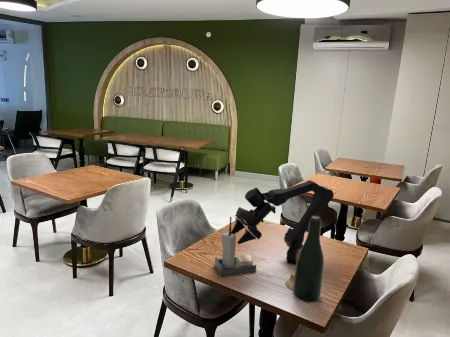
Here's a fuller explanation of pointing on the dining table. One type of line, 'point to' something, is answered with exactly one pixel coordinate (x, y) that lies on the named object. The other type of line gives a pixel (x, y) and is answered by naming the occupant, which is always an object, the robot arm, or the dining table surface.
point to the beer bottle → (310, 265)
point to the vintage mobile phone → (228, 249)
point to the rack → (233, 270)
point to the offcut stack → (243, 260)
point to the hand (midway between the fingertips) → (234, 239)
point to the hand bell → (292, 275)
